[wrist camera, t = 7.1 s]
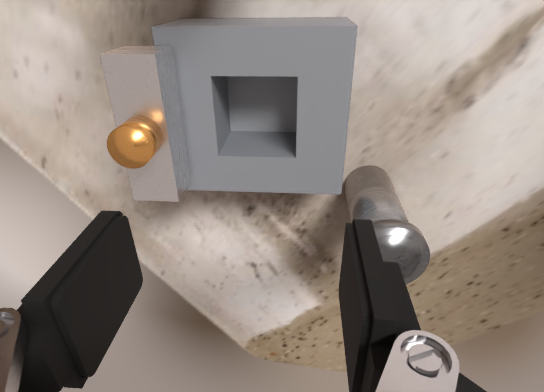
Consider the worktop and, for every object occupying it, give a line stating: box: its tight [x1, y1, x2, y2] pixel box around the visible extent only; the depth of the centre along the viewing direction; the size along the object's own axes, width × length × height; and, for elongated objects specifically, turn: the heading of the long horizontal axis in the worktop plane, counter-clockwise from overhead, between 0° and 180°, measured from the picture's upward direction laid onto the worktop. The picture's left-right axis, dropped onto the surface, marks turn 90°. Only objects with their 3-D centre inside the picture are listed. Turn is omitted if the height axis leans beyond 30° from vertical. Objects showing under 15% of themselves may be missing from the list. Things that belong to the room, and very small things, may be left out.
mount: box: [151, 17, 357, 194], centre depth 26 cm, size 12×11×6 cm
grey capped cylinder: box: [344, 166, 430, 284], centre depth 28 cm, size 5×5×10 cm
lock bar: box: [100, 46, 191, 202], centre depth 22 cm, size 3×9×5 cm, turn 1°
